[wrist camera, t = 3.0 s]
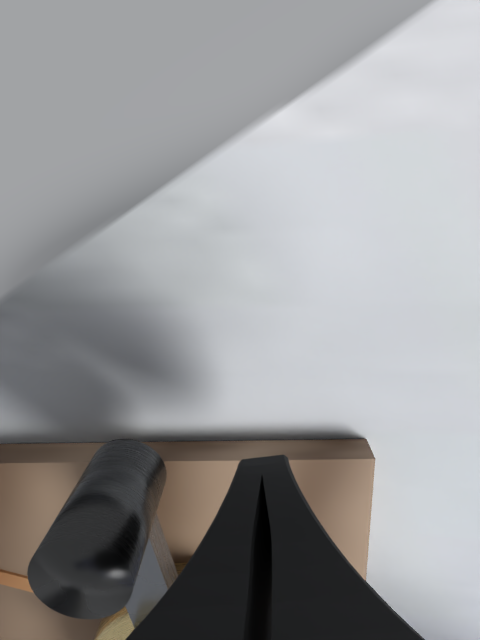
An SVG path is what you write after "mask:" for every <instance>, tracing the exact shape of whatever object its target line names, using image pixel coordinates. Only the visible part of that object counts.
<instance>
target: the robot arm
mask: <svg viewBox="0 0 480 640" xmlns="http://www.w3.org/2000/svg"><path fill="white" fill-rule="evenodd" d="M125 640H425V639H424V638H423V637H421V636H420V635H419V634H418V633H417V632H416V631H415V630H414V629H413V628H412V627H410V626H409V625H408V624H407V623H406V622H405V621H404V620H403V619H402V618H401V617H400V616H399V615H398V614H397V613H396V612H395V611H394V610H393V609H392V608H391V607H390V606H389V605H388V604H387V603H386V602H385V601H384V600H383V599H382V598H381V597H380V596H379V595H378V594H377V593H376V591H375V590H374V589H373V588H372V587H371V586H370V585H369V584H368V583H367V582H366V581H365V580H364V579H363V578H362V576H361V575H360V574H359V573H358V572H357V571H356V569H355V568H354V567H353V566H352V565H351V564H350V562H349V561H348V560H347V559H346V557H345V556H344V555H343V554H342V552H341V551H340V550H339V549H338V547H337V546H336V545H335V543H334V542H333V541H332V539H331V538H330V536H329V535H328V534H327V532H326V531H325V529H324V528H323V526H322V525H321V523H320V522H319V520H318V519H317V517H316V516H315V514H314V512H313V511H312V509H311V507H310V506H309V504H308V502H307V500H306V499H305V497H304V495H303V493H302V492H301V490H300V488H299V486H298V484H297V481H296V479H295V477H294V475H293V472H292V470H291V467H290V464H289V460H288V457H287V456H285V455H275V456H267V457H258V458H249V459H242V460H241V461H240V462H239V464H238V467H237V470H236V472H235V475H234V478H233V480H232V482H231V485H230V487H229V489H228V492H227V494H226V496H225V498H224V500H223V502H222V504H221V506H220V508H219V510H218V512H217V514H216V516H215V518H214V520H213V522H212V524H211V525H210V527H209V529H208V531H207V532H206V534H205V536H204V538H203V539H202V541H201V543H200V544H199V546H198V548H197V549H196V551H195V552H194V554H193V555H192V557H191V558H190V560H189V561H188V563H187V564H186V566H185V567H184V569H183V570H182V572H181V573H180V574H179V576H178V577H177V578H176V580H175V581H174V582H173V584H172V585H171V586H170V588H169V589H168V590H167V592H166V593H165V594H164V595H163V597H162V598H161V599H160V600H159V602H158V603H157V604H156V605H155V607H154V608H153V609H152V610H151V611H150V612H149V614H148V615H147V616H146V617H145V618H144V619H143V620H142V621H141V622H140V624H139V625H138V626H137V627H136V628H135V629H134V630H133V631H132V632H131V634H130V635H129V636H128V637H127V638H126V639H125Z"/></svg>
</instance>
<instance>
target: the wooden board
mask: <svg viewBox="0 0 480 640" xmlns="http://www.w3.org/2000/svg"><path fill="white" fill-rule="evenodd" d="M142 443H144V444H146V445H148V446H150V447H151V448H153V449H154V450H155V451H156V452H157V453H158V454H159V455H160V457H161V458H162V460H163V461H164V464H165V466H166V471H167V479H166V483H165V486H164V489H163V493H162V496H161V499H160V503H159V506H158V509H157V512H156V513H157V516H158V519H159V521H160V524H161V527H162V530H163V533H164V536H165V539H166V541H167V544H168V547H169V550H170V553H171V556H172V559H173V561H174V563H184V562H186V563H188V561H189V560H190V558H191V557H192V555H193V554H194V552H195V551H196V549H197V548H198V546H199V544H200V543H201V541H202V539H203V538H204V536H205V534H206V532H207V531H208V529H209V527H210V525H211V524H212V522H213V520H214V518H215V516H216V514H217V512H218V510H219V508H220V506H221V504H222V502H223V500H224V498H225V496H226V494H227V492H228V489H229V487H230V485H231V482H232V480H233V478H234V475H235V472H236V470H237V467H238V464H239V462H240V461H241V460H242V459H249V458H258V457H267V456H275V455H285V456H287V457H288V460H289V464H290V467H291V470H292V472H293V475H294V477H295V479H296V481H297V484H298V486H299V488H300V490H301V492H302V493H303V495H304V497H305V499H306V500H307V502H308V504H309V506H310V507H311V509H312V511H313V512H314V514H315V516H316V517H317V519H318V520H319V522H320V523H321V525H322V526H323V528H324V529H325V531H326V532H327V534H328V535H329V536H330V538H331V539H332V541H333V542H334V543H335V545H336V546H337V547H338V549H339V550H340V551H341V552H342V554H343V555H344V556H345V557H346V559H347V560H348V561H349V562H350V564H351V565H352V566H353V567H354V568H355V569H356V571H357V572H358V573H359V574H360V575H361V576H362V578H363V579H364V580H365V581H366V571H367V558H368V545H369V532H370V519H371V506H372V493H373V480H374V467H375V458H374V455H373V453H372V451H371V449H370V446H369V444H368V442H367V440H366V439H329V440H255V441H181V442H142ZM104 444H106V443H34V444H0V640H94V639H95V636H96V633H97V631H98V628H99V625H100V622H101V619H102V618H100V619H77V618H72V617H69V616H65V615H63V614H60V613H58V612H56V611H54V610H52V609H51V608H49V607H48V606H46V605H45V604H44V603H42V602H41V601H40V600H39V599H38V598H37V596H36V595H35V594H34V592H33V591H32V589H31V587H30V584H29V581H28V575H27V571H28V565H29V562H30V560H31V559H32V557H33V555H34V553H35V552H36V550H37V549H38V547H39V545H40V544H41V542H42V540H43V539H44V537H45V535H46V534H47V532H48V530H49V529H50V527H51V525H52V524H53V522H54V520H55V519H56V517H57V515H58V514H59V512H60V510H61V509H62V507H63V505H64V504H65V502H66V500H67V499H68V497H69V495H70V494H71V492H72V490H73V489H74V487H75V485H76V484H77V482H78V480H79V479H80V477H81V475H82V474H83V472H84V470H85V469H86V467H87V465H88V464H89V462H90V461H91V459H92V457H93V456H94V454H95V452H96V451H97V450H98V449H99V448H100V447H101V446H103V445H104Z"/></svg>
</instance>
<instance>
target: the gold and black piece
mask: <svg viewBox="0 0 480 640" xmlns="http://www.w3.org/2000/svg"><path fill="white" fill-rule="evenodd" d="M166 479H167V471H166V466H165V464H164V461H163V460H162V458H161V457H160V455H159V454H158V453H157V452H156V451H155V450H154V449H153V448H151V447H150V446H148V445H146V444H144V443H142V442H139V441H136V440H131V439H118V440H113V441H110V442H108V443H106V444H104V445H103V446H101V447H100V448H99V449H98V450H97V451H96V452H95V454H94V456H93V457H92V459H91V461H90V462H89V464H88V465H87V467H86V469H85V470H84V472H83V474H82V475H81V477H80V479H79V480H78V482H77V484H76V485H75V487H74V489H73V490H72V492H71V494H70V495H69V497H68V499H67V500H66V502H65V504H64V505H63V507H62V509H61V510H60V512H59V514H58V515H57V517H56V519H55V520H54V522H53V524H52V525H51V527H50V529H49V530H48V532H47V534H46V535H45V537H44V539H43V540H42V542H41V544H40V545H39V547H38V549H37V550H36V552H35V553H34V555H33V557H32V559H31V560H30V562H29V565H28V571H27V575H28V581H29V584H30V587H31V589H32V591H33V592H34V594H35V595H36V596H37V598H38V599H39V600H40V601H41V602H42V603H44V604H45V605H46V606H48V607H49V608H51V609H52V610H54V611H56V612H58V613H60V614H63V615H65V616H69V617H72V618H77V619H100V618H102V619H101V622H100V625H99V628H98V631H97V633H96V636H95V639H94V640H125V639H126V638H127V637H128V636H129V635H130V634H131V632H132V631H133V630H134V629H135V628H136V627H137V626H138V625H139V624H140V622H141V621H142V620H143V619H144V618H145V617H146V616H147V615H148V614H149V612H150V611H151V610H152V609H153V608H154V607H155V605H156V604H157V603H158V602H159V600H160V599H161V598H162V597H163V595H164V594H165V593H166V592H167V590H168V589H169V588H170V586H171V585H172V584H173V582H174V581H175V580H176V578H177V577H178V576H179V574H180V573H181V572H182V570H183V569H184V567H185V566H186V564H187V563H186V562H184V563H174V561H173V559H172V556H171V553H170V550H169V547H168V544H167V541H166V539H165V536H164V533H163V530H162V527H161V524H160V521H159V519H158V516H157V513H156V512H157V509H158V506H159V503H160V499H161V496H162V493H163V489H164V486H165V483H166Z"/></svg>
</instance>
